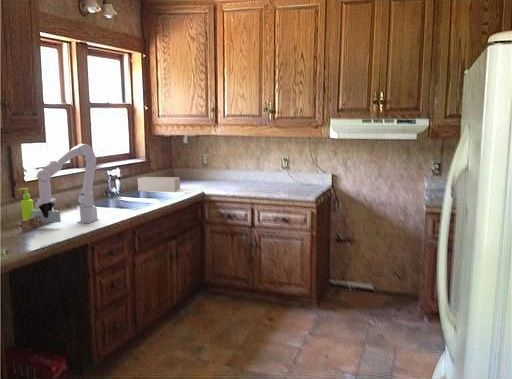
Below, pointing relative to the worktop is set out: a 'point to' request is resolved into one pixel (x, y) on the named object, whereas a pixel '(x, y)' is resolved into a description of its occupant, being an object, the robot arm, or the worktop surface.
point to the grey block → (52, 216)
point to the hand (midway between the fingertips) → (47, 217)
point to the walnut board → (32, 224)
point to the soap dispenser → (26, 204)
